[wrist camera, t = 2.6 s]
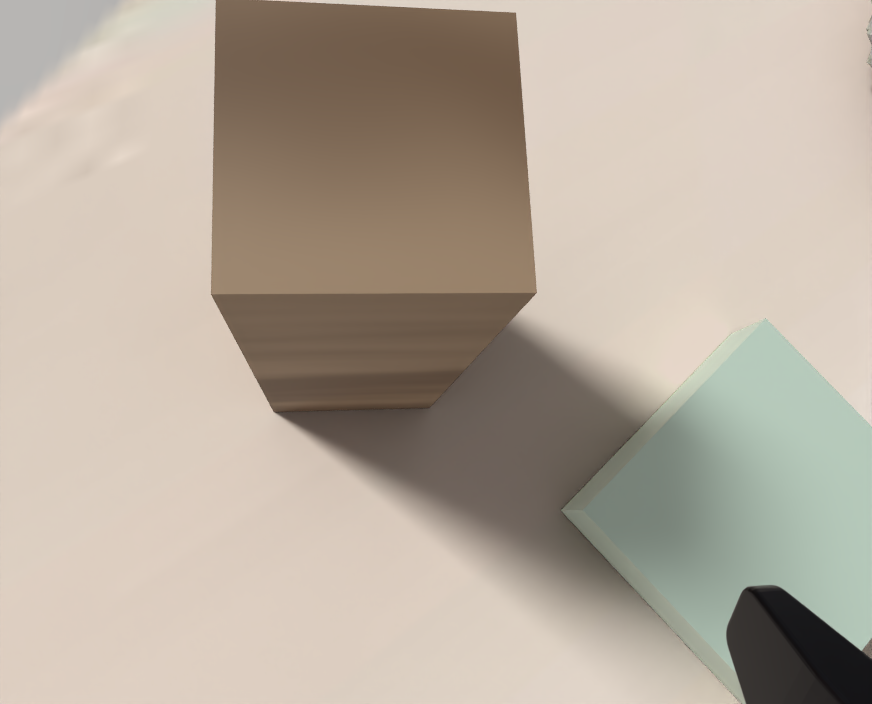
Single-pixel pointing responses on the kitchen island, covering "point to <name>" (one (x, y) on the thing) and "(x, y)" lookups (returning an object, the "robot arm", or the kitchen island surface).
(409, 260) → the walnut block
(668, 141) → the kitchen island surface
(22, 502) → the kitchen island surface
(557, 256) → the kitchen island surface
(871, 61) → the sea urchin shell
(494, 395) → the kitchen island surface
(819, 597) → the green plinth
